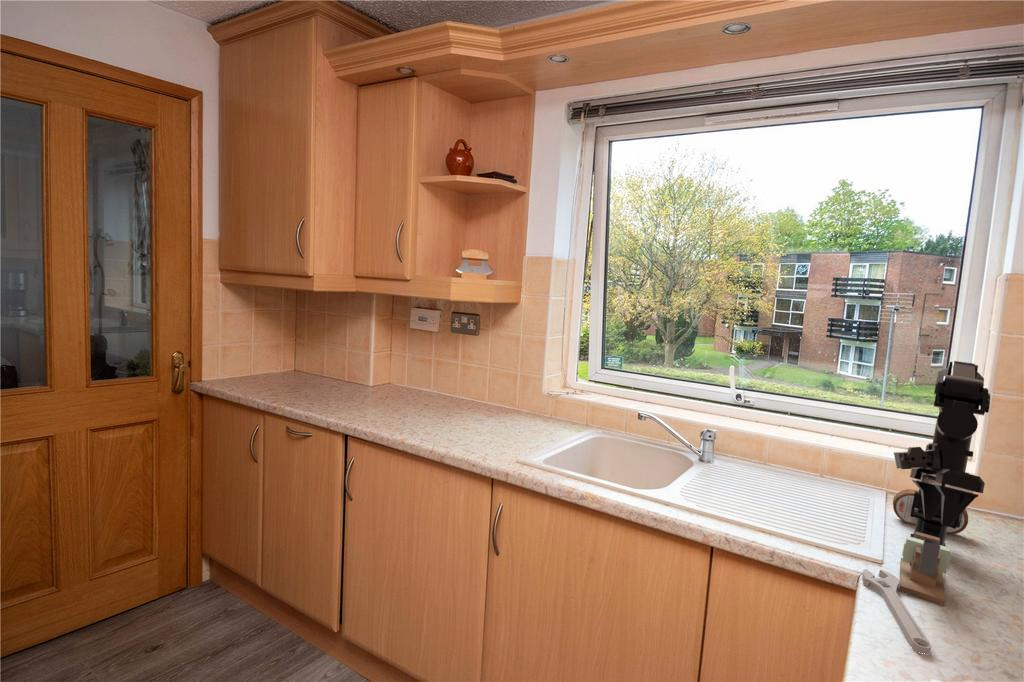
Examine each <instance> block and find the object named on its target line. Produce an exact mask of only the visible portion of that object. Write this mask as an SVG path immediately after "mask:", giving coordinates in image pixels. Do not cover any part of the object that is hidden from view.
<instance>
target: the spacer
mask: <svg viewBox="0 0 1024 682" xmlns="http://www.w3.org/2000/svg"><path fill="white" fill-rule="evenodd" d="M923 542H924V541H923V540H920V539H916V538H913V537H910V536H909V535H906V538H905V539H904V542H903V547H902V554H901V555H902V558H903V561H905V562H908V563H912V559H913V556H914V552H915V547H916V546H918V547H921V548H922V547H923ZM939 553H940V561H939V566H938V569H939V570H938V572H941V573H943V574H947V570H949V566H950V561H951V548H950V547H947V546H946V545H945V546H941V545H940V550H939Z"/></svg>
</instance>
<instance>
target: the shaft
mask: <svg viewBox="0 0 1024 682" xmlns="http://www.w3.org/2000/svg"><path fill="white" fill-rule="evenodd" d="M939 550H940V542H937V541H934V540H930V539H926V538H924V542H923V547H922V548H921V557H920V562H919V567H918V572H921V573H925V574H928V575H931V576H934V575H935V570H936V565H937V560H938V555H939Z"/></svg>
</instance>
